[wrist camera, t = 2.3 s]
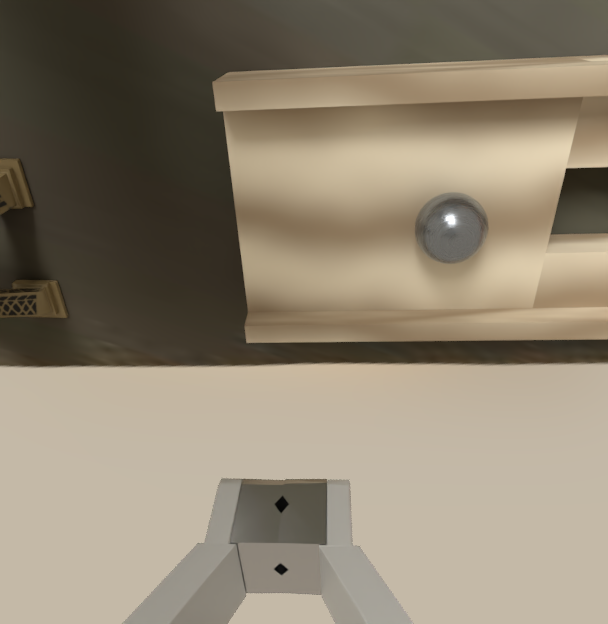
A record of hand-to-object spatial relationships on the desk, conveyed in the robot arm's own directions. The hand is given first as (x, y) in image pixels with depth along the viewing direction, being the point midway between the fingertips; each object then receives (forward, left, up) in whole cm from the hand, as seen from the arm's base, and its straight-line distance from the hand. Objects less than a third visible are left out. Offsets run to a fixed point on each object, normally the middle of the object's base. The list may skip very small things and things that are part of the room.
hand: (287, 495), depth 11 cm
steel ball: (0, +7, -16) cm, 17 cm away
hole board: (0, +9, -20) cm, 22 cm away
